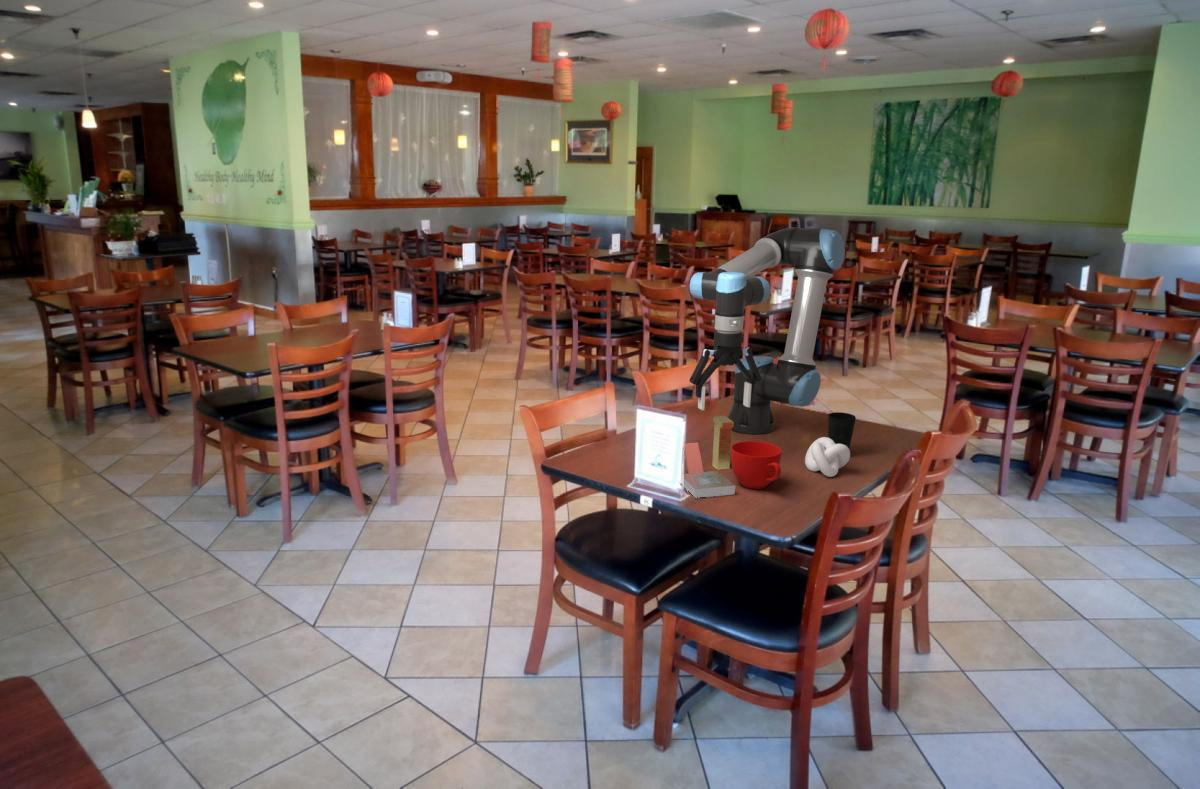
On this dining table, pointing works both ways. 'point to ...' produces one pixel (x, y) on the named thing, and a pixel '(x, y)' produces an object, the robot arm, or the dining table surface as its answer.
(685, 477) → the socket block
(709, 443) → the dining table surface
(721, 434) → the khaki tall block
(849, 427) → the cup
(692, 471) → the reddish flat block
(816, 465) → the white knot
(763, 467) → the ceramic cup
